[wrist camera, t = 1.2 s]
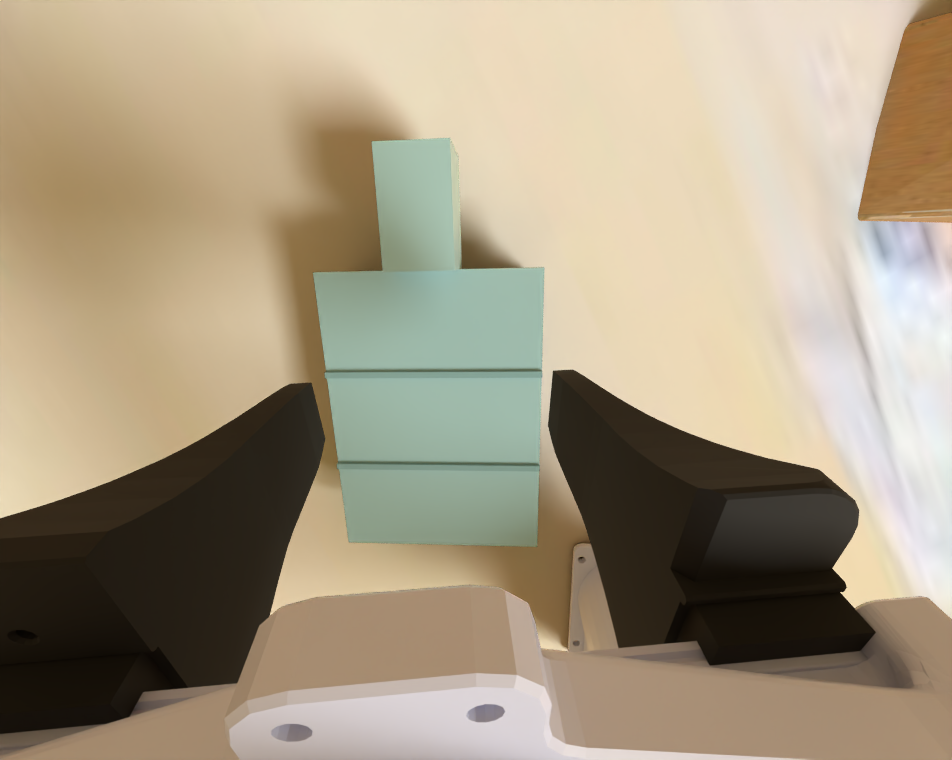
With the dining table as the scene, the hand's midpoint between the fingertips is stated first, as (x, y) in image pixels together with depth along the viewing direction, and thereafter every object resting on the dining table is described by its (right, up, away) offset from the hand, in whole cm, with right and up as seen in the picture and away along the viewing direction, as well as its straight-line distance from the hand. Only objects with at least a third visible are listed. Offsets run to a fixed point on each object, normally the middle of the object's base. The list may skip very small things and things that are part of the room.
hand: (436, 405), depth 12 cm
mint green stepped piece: (-1, +1, +9) cm, 9 cm away
